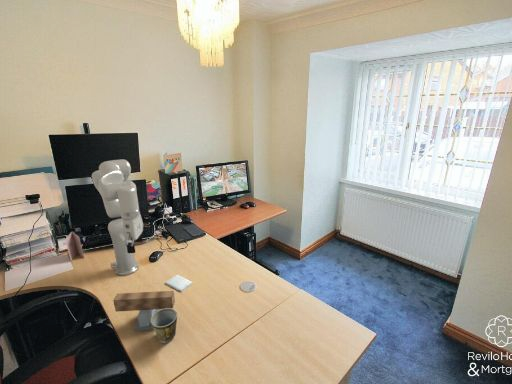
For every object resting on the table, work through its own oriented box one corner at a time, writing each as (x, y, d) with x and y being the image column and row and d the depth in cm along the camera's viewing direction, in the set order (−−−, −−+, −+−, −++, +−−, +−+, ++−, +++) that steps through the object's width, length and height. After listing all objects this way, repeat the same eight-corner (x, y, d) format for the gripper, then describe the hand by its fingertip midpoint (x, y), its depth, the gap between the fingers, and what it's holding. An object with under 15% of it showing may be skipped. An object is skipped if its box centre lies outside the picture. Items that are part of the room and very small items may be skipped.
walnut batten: (115, 311, 112) (113, 300, 110) (119, 304, 116) (117, 293, 114) (172, 308, 114) (171, 297, 112) (174, 301, 118) (173, 290, 116)
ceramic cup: (152, 332, 111) (149, 313, 108) (176, 323, 115) (173, 304, 112) (157, 357, 100) (154, 336, 97) (183, 345, 105) (181, 326, 101)
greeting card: (75, 252, 171) (70, 231, 166) (88, 250, 173) (83, 230, 168) (69, 261, 161) (63, 240, 156) (83, 259, 163) (78, 238, 158)
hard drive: (165, 282, 141) (181, 290, 134) (177, 274, 147) (193, 281, 141) (165, 284, 141) (181, 293, 135) (177, 276, 148) (193, 284, 141)
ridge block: (134, 331, 111) (131, 317, 109) (143, 310, 123) (141, 297, 120) (153, 330, 112) (151, 316, 110) (161, 309, 123) (159, 296, 121)
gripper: (131, 222, 109) (137, 257, 114) (145, 205, 125) (149, 237, 131) (112, 222, 108) (119, 257, 114) (129, 205, 124) (134, 237, 130)
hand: (135, 247), depth 122 cm, fingers open, 9 cm apart
